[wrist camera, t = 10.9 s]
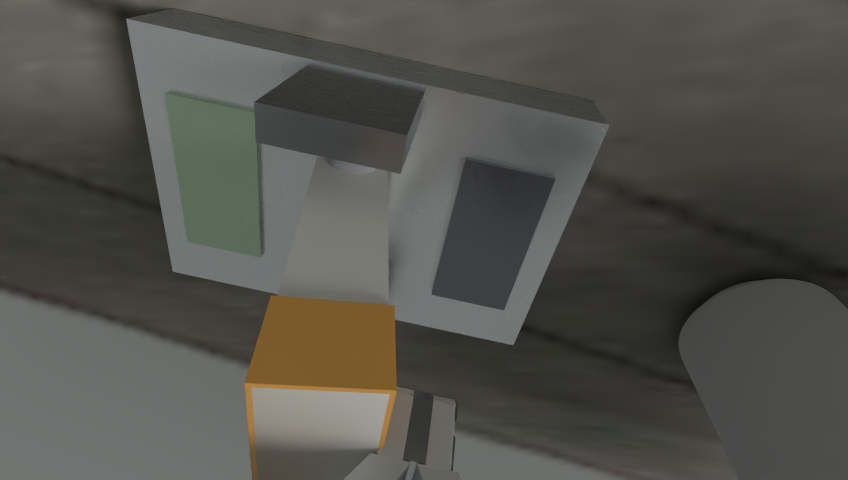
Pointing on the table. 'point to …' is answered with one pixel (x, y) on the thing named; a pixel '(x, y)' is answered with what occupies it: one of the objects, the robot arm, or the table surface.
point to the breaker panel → (359, 163)
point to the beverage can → (773, 377)
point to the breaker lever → (327, 336)
